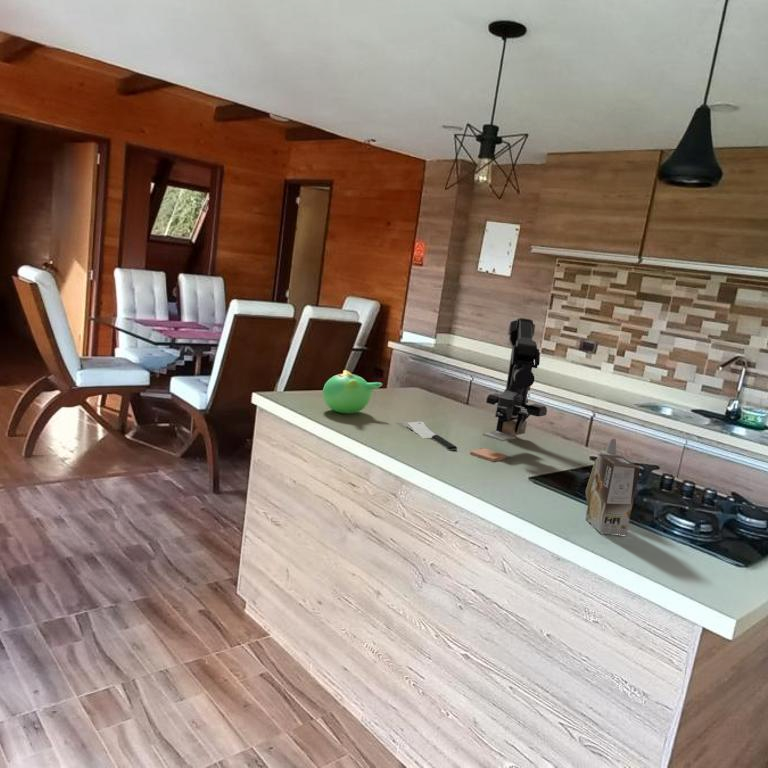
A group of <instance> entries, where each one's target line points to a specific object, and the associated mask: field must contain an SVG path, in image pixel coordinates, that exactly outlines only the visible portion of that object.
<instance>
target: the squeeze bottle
mask: <svg viewBox="0 0 768 768" xmlns="http://www.w3.org/2000/svg"><path fill="white" fill-rule="evenodd" d="M599 454H602V455H614V456H621V454H619V453H617V439H616V438H613V437H612V438H610V440H609V442H608V443H607V447H606V449H605V450H601V451H600V453H599ZM596 462H597V458H596V459H594V461H593V465H592V469H591V472H590V476H589V479H588V481H587V484H586V485H587V486H586V488H585V498H586V504H588V503H589V498H590V493H591V488H592V482H593V477H594V472H595V467H596Z"/></svg>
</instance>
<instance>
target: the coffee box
mask: <svg viewBox="0 0 768 768" xmlns="http://www.w3.org/2000/svg"><path fill="white" fill-rule="evenodd" d="M596 457H597V458H596V459H597V462H596V467H595V472H594V477H593V482H592V488H591V493H590V498H589V503H588V506H587V509H586V514H585V518H586V519H587V520H588V521H589V522H590V523H591V524H592V525H593V526H594V527H593V526H592V525H591V524H590V523H589V522H588V521H587V520H586V519H585V520H586V521H587V522H588V523H589V524H590V525H591V526H592V527H593V529H595V528H596V529H597V530H598V531H599V532H600V533H602V534H601V535H604V534H618V535H619V534H620V535H626V536H627V533H628V529H629V523H630V518H631V514H632V513H631V512H632V508H633V504H634V499H635V494H636V489H637V485H638V479H639V476H640V471H641V470H640V469H641V468H640V467H639V466H637V465H636V464H634V463H633V462H631V461H630V460H628V459H627V458H625V457H624V456H621V455H620V456H614V455H602V454H600V453H598V454H597V456H596ZM596 529H595V530H596ZM597 530H596V531H597ZM598 531H597V532H598ZM599 532H598V533H599ZM600 533H599V534H600Z"/></svg>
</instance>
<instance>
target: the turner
mask: <svg viewBox="0 0 768 768" xmlns="http://www.w3.org/2000/svg"><path fill="white" fill-rule="evenodd" d="M516 423H517V419H516V420H511V421H505V422H503V428H502V433H501V432H498V431H496V430H493V432H492V431H488V432H485V433H484V432H483V433H482V436H484V437H487V438H491V439H494V440H497V441H501V442H506V441H510V440H515V439H516V438H517V437H516V436H519V435H523V434H526V431H527V429H526V428H527V423H528V421H527V420H525V422H524V423H523V425H522V426H521V428H520V429H519V431H518V432H517V433H515V427H516ZM515 435H516V436H515Z"/></svg>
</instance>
